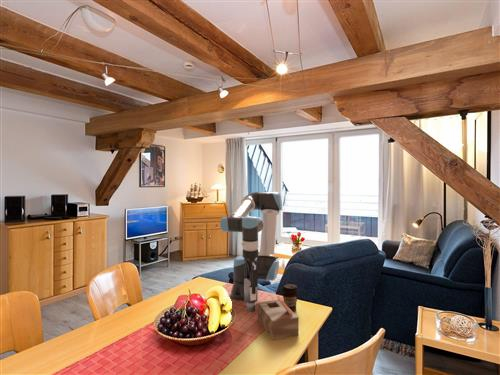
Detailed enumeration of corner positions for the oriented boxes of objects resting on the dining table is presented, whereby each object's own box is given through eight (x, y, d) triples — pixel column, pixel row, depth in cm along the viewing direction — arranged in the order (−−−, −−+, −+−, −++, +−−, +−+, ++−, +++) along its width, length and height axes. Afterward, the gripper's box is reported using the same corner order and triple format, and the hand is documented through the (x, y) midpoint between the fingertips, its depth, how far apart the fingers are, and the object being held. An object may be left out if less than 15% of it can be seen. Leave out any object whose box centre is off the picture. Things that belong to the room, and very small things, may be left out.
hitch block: (258, 318, 138) (257, 302, 138) (280, 314, 141) (280, 299, 141) (273, 340, 119) (273, 321, 119) (298, 335, 122) (298, 317, 122)
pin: (242, 308, 135) (242, 277, 135) (255, 306, 137) (255, 276, 137) (246, 314, 129) (246, 282, 129) (259, 312, 131) (259, 280, 130)
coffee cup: (299, 314, 142) (299, 289, 142) (283, 314, 142) (283, 289, 142) (297, 306, 151) (296, 283, 150) (281, 306, 151) (281, 283, 151)
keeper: (276, 296, 126) (277, 295, 127) (286, 311, 128) (288, 309, 128) (280, 301, 122) (282, 299, 122) (291, 315, 123) (293, 314, 124)
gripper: (237, 245, 140) (238, 290, 141) (248, 255, 122) (249, 306, 123) (251, 243, 142) (252, 288, 143) (264, 253, 124) (265, 304, 125)
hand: (251, 296), depth 133 cm, fingers closed on pin, 6 cm apart
